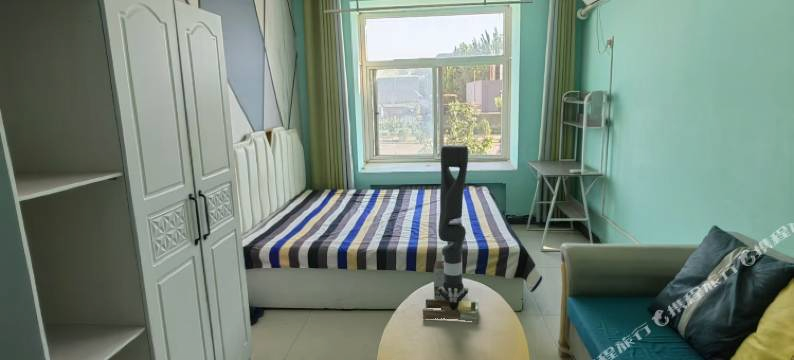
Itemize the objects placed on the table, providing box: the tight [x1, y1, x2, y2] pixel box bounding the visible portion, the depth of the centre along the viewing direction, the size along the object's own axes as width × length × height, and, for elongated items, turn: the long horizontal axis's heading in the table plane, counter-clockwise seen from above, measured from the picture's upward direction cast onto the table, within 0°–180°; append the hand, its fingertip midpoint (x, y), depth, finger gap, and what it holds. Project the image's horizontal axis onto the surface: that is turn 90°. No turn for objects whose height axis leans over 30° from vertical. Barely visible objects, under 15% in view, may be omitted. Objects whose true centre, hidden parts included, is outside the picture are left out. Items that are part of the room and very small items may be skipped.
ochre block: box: [458, 300, 472, 312], centre depth 191 cm, size 5×5×4 cm
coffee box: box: [433, 260, 449, 300], centre depth 208 cm, size 9×6×16 cm
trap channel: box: [422, 298, 479, 324], centre depth 193 cm, size 10×23×6 cm, turn 79°
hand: (453, 309), depth 192 cm, fingers closed
